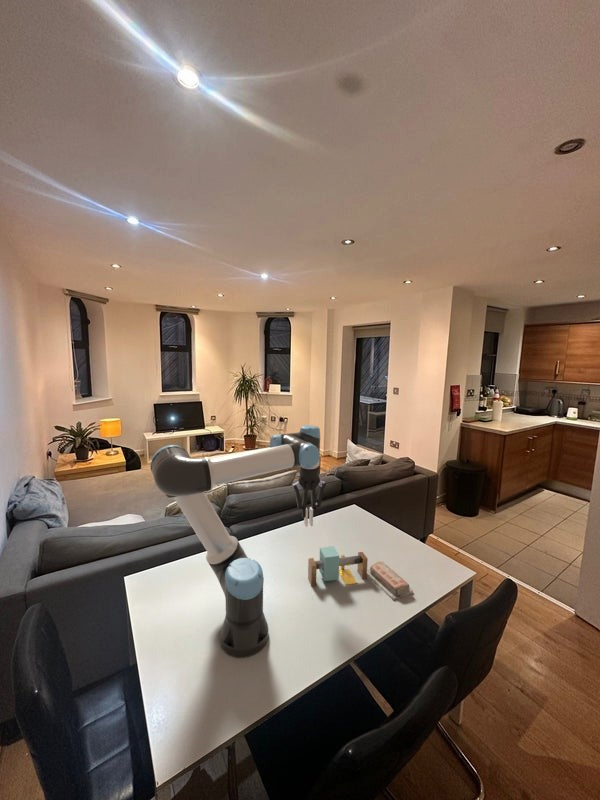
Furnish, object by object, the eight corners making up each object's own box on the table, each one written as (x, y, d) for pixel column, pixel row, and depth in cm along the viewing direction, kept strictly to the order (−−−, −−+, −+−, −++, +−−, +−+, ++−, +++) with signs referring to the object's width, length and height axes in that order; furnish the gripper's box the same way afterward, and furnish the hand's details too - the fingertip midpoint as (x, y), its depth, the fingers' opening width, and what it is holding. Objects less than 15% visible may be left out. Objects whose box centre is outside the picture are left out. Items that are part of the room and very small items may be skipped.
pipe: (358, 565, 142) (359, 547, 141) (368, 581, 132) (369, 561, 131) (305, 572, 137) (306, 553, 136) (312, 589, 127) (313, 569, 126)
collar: (333, 568, 137) (333, 546, 136) (338, 579, 130) (339, 555, 129) (319, 570, 135) (319, 547, 134) (324, 581, 129) (324, 557, 128)
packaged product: (414, 582, 126) (393, 589, 121) (413, 594, 126) (393, 602, 122) (383, 557, 142) (364, 562, 138) (383, 567, 142) (364, 573, 138)
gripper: (324, 462, 131) (323, 518, 133) (289, 464, 127) (288, 521, 130) (330, 468, 123) (328, 527, 126) (293, 470, 120) (292, 531, 123)
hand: (308, 524), depth 128 cm, fingers closed
